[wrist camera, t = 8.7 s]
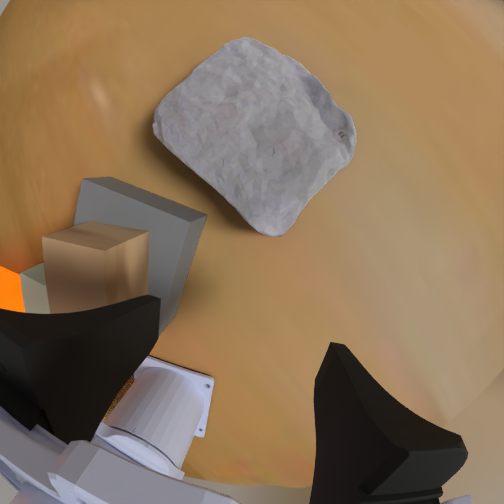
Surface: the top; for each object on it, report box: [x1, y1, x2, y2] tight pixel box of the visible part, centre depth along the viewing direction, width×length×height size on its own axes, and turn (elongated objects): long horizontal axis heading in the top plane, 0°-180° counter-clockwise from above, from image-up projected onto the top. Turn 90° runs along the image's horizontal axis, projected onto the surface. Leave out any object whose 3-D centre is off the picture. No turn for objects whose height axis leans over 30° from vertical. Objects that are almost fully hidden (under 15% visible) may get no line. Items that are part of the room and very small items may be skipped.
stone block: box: [152, 37, 357, 236], centre depth 17 cm, size 12×5×10 cm
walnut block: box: [42, 221, 150, 314], centre depth 16 cm, size 5×5×5 cm
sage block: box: [20, 262, 51, 314], centre depth 22 cm, size 5×5×5 cm
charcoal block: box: [73, 177, 207, 335], centre depth 20 cm, size 9×9×4 cm
